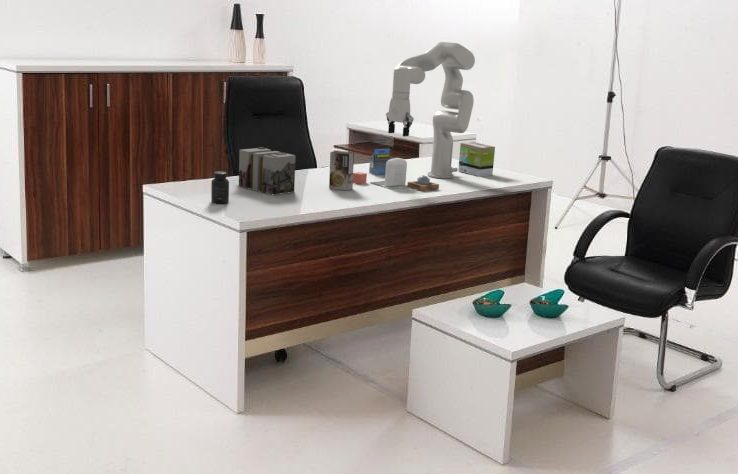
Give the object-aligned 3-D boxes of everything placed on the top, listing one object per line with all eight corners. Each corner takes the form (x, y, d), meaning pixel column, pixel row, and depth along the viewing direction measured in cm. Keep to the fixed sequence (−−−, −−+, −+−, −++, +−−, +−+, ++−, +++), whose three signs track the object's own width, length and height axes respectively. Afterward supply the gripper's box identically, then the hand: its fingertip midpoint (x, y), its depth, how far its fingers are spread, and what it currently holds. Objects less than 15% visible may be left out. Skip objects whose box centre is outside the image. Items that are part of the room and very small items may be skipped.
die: (358, 181, 415) (358, 171, 414) (366, 183, 412) (366, 173, 411) (352, 182, 411) (352, 172, 410) (360, 184, 409) (360, 174, 408)
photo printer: (401, 183, 413) (402, 156, 410) (406, 185, 410) (408, 158, 407) (382, 185, 407) (384, 158, 404) (388, 187, 404) (390, 159, 401)
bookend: (261, 182, 401) (262, 145, 397) (299, 192, 384) (300, 154, 380) (232, 185, 390) (233, 148, 386) (270, 196, 373) (271, 157, 369)
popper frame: (423, 185, 414) (423, 180, 414) (438, 189, 407) (439, 184, 406) (407, 187, 408) (407, 182, 407) (422, 191, 400) (422, 186, 400)
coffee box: (353, 188, 398) (355, 152, 394) (347, 191, 392) (349, 154, 388) (333, 186, 401) (335, 149, 397) (328, 188, 395) (330, 151, 391)
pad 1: (389, 181, 420) (390, 180, 420) (399, 183, 415) (399, 182, 415) (369, 183, 412) (370, 182, 412) (379, 185, 407) (379, 185, 407)
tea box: (457, 171, 455) (459, 142, 452) (471, 170, 462) (473, 141, 458) (479, 177, 444) (482, 147, 441) (493, 175, 451) (495, 146, 447)
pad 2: (399, 184, 414) (400, 183, 414) (409, 186, 410) (409, 185, 410) (379, 186, 407) (379, 185, 407) (389, 188, 402) (389, 187, 402)
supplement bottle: (211, 200, 359) (212, 170, 356) (229, 201, 359) (229, 171, 356) (210, 204, 352) (210, 173, 349) (228, 204, 353) (228, 174, 350)
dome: (423, 185, 411) (424, 174, 410) (431, 187, 407) (432, 176, 405) (414, 186, 407) (415, 174, 406) (422, 188, 403) (423, 177, 402)
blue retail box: (384, 172, 442) (385, 147, 439) (388, 173, 439) (390, 148, 435) (368, 173, 437) (370, 147, 434) (372, 174, 434) (374, 149, 431)
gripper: (381, 93, 403) (379, 132, 407) (407, 98, 390) (405, 137, 394) (394, 93, 407) (392, 131, 412) (420, 97, 395) (417, 137, 399)
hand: (398, 134), depth 403 cm, fingers open, 9 cm apart
